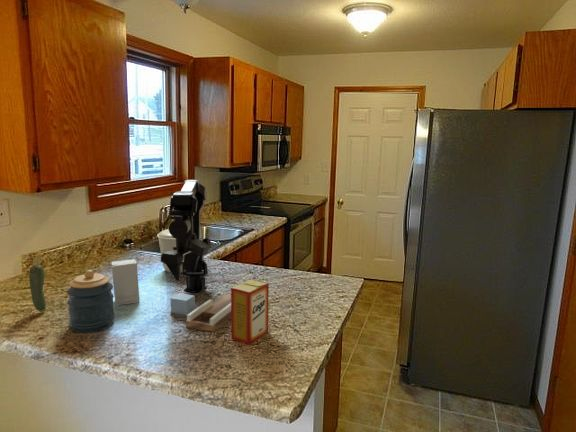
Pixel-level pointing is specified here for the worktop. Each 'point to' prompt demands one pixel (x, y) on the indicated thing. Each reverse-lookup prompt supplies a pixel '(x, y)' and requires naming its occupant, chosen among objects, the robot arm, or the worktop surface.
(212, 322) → the channel walls
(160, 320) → the worktop surface
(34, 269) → the vegetable
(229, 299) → the channel base plate
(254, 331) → the baking soda box
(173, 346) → the worktop surface
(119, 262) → the skincare box
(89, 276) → the canister
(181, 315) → the coaster
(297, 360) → the worktop surface
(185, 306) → the block
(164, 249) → the canister
